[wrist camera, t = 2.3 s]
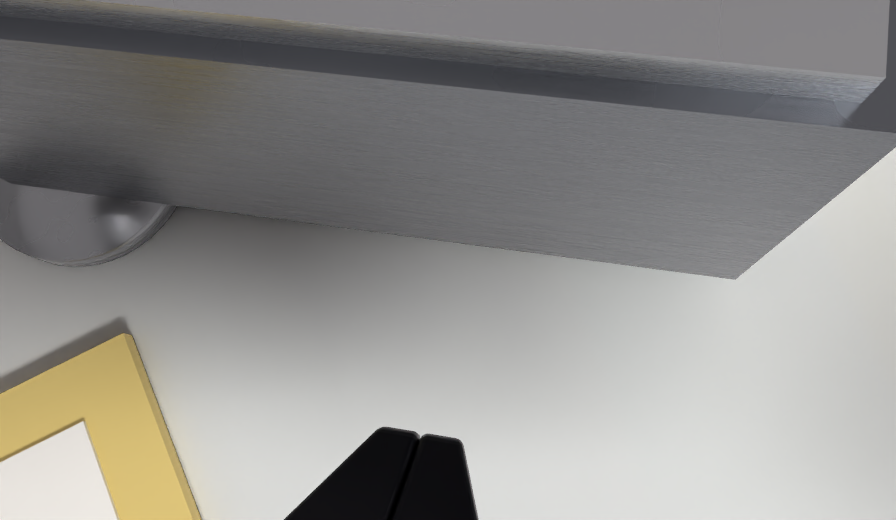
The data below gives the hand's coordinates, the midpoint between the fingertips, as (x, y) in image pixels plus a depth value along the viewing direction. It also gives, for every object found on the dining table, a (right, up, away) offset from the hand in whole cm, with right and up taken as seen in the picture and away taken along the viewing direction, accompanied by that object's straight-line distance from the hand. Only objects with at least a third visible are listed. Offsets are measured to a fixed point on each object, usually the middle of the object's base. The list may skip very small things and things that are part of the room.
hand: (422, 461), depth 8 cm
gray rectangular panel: (-2, +4, +9) cm, 10 cm away
